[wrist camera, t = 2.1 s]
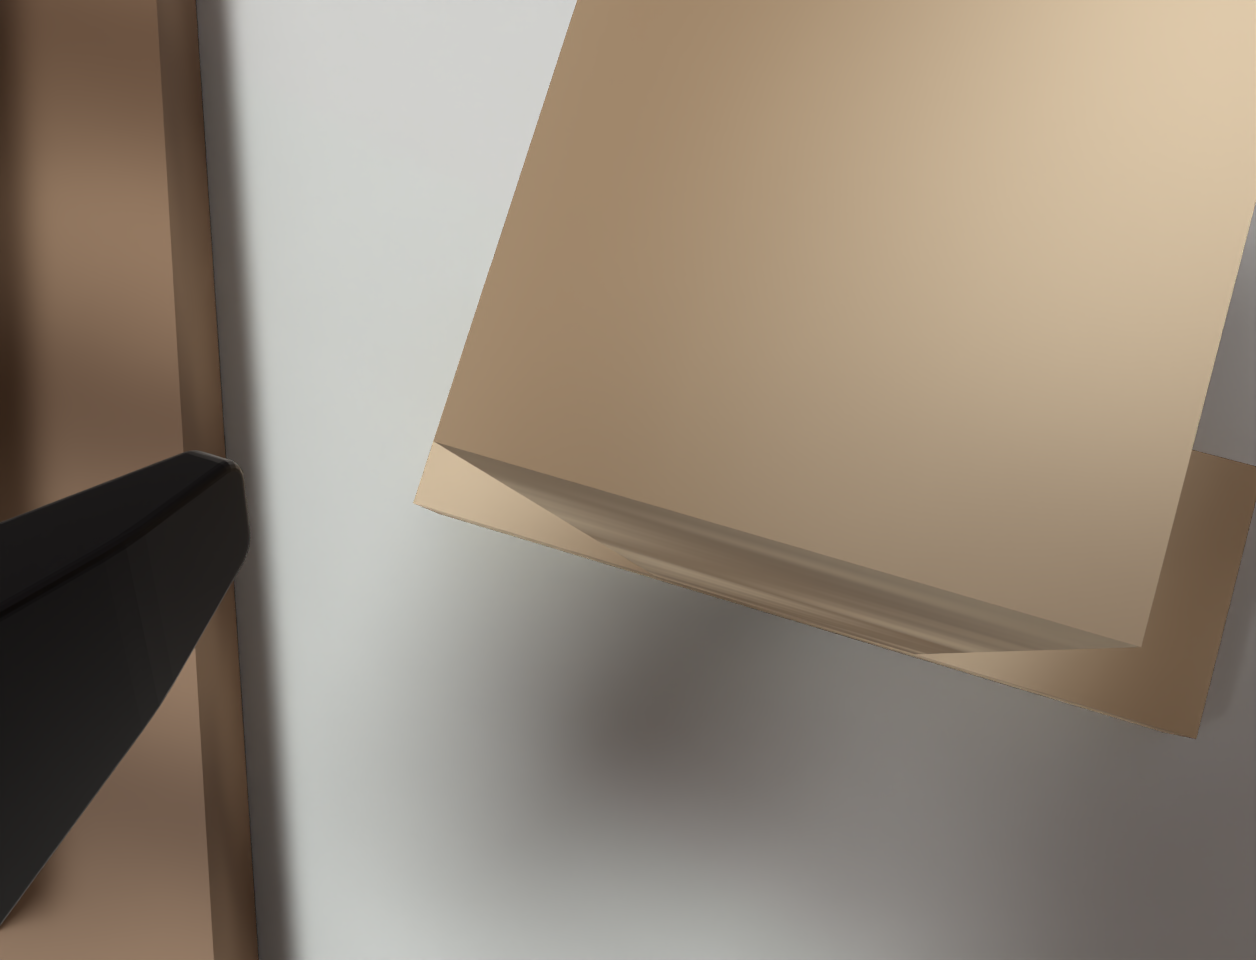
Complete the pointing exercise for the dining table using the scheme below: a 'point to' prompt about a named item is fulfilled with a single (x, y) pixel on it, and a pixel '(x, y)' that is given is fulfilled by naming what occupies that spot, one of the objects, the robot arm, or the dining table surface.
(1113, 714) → the oak T piece
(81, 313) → the stand
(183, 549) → the robot arm
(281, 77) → the dining table surface
